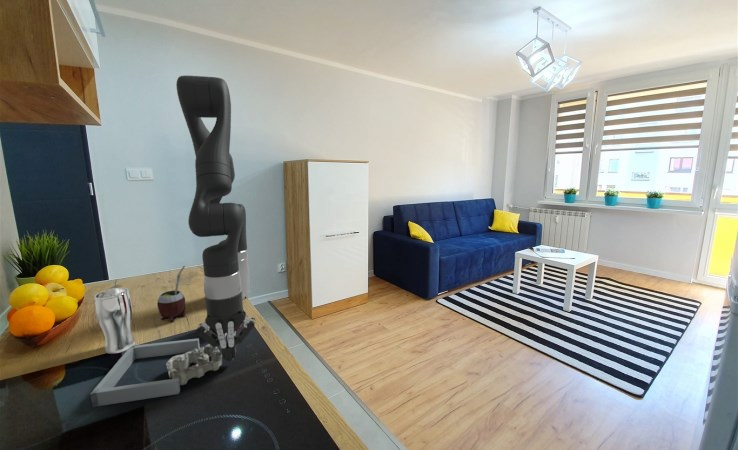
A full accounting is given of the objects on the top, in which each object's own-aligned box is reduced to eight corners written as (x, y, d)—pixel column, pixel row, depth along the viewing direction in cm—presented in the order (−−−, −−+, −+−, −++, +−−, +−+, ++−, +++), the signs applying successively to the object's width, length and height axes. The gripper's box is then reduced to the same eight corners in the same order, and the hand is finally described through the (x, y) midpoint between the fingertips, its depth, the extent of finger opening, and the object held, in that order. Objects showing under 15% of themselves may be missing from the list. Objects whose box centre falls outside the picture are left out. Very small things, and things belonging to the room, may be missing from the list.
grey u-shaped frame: (132, 357, 75) (130, 346, 74) (199, 348, 79) (198, 338, 78) (92, 406, 60) (90, 393, 59) (178, 393, 63) (177, 381, 63)
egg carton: (173, 390, 65) (170, 373, 64) (166, 372, 70) (163, 356, 69) (225, 367, 72) (224, 352, 71) (215, 353, 77) (214, 338, 76)
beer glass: (114, 357, 74) (104, 301, 71) (96, 351, 77) (86, 296, 74) (143, 342, 81) (135, 289, 78) (126, 336, 83) (117, 285, 80)
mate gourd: (157, 325, 89) (150, 277, 86) (162, 313, 96) (156, 268, 93) (186, 320, 92) (181, 274, 89) (189, 309, 99) (185, 265, 96)
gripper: (256, 282, 74) (260, 346, 77) (195, 287, 71) (203, 354, 74) (253, 294, 67) (257, 364, 70) (185, 301, 63) (194, 374, 67)
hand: (229, 359), depth 72 cm, fingers closed
